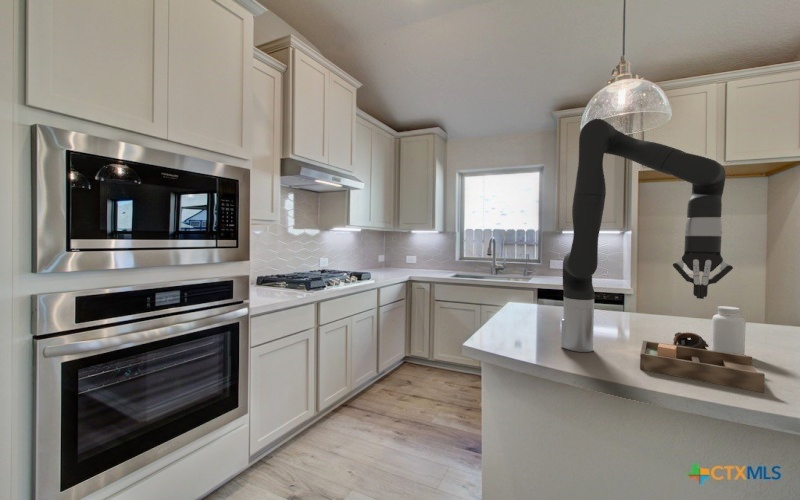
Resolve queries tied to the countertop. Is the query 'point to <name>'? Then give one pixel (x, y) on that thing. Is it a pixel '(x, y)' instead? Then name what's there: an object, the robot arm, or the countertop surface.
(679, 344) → the pottery mug
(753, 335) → the countertop surface
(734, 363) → the box
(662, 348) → the terracotta block
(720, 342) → the pill bottle
